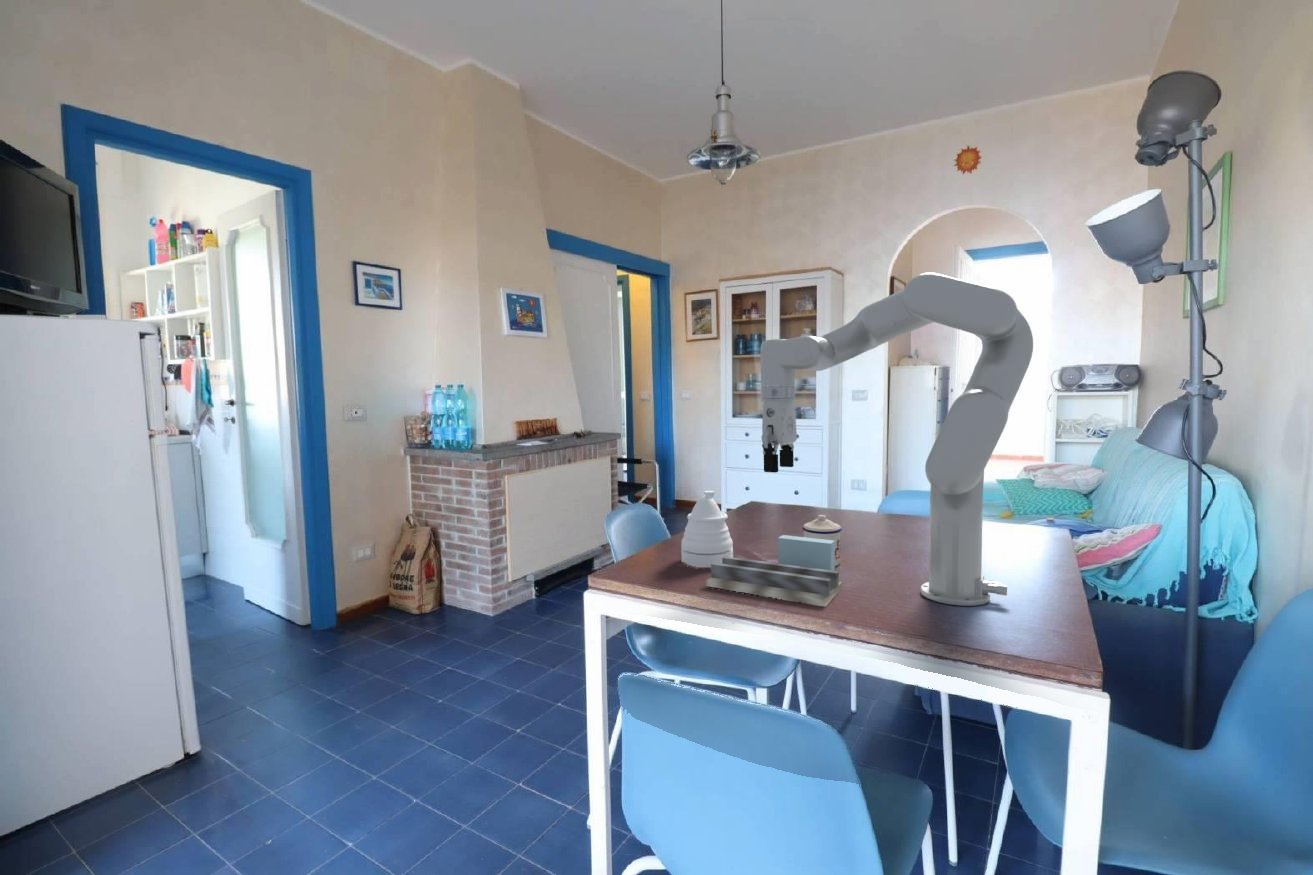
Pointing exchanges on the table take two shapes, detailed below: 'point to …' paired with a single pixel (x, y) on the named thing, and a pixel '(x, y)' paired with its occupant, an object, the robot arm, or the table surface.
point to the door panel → (806, 552)
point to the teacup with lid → (825, 533)
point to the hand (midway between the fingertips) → (779, 469)
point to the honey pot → (706, 534)
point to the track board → (776, 580)
